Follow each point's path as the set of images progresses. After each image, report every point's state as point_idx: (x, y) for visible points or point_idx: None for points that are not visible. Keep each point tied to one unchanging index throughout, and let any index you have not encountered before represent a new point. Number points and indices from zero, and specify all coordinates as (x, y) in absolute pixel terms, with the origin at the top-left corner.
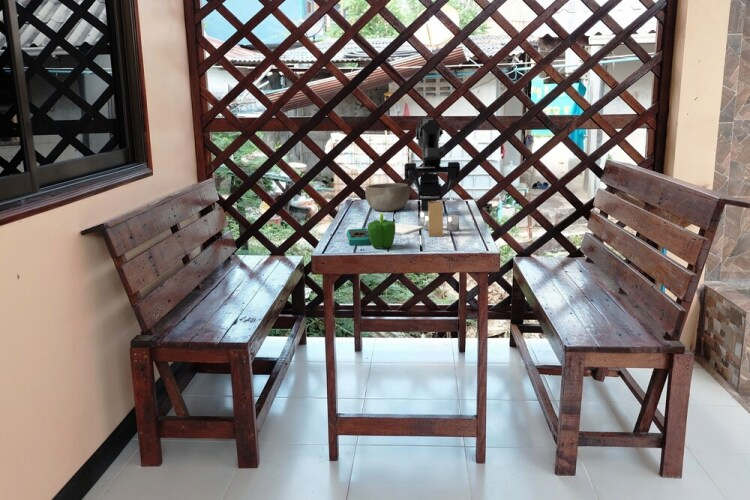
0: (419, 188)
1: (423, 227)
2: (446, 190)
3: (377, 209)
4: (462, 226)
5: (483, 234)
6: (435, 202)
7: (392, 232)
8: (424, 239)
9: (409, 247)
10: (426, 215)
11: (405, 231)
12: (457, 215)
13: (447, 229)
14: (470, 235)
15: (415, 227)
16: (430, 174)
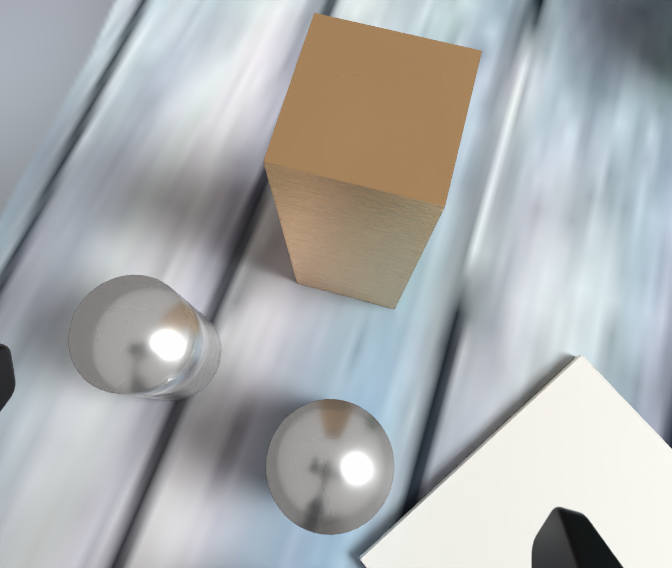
0: (575, 523)
1: (364, 553)
2: (14, 380)
3: None
4: (28, 484)
5: (43, 156)
6: (389, 59)
7: None
8: (470, 156)
9: (608, 2)
10: (369, 469)
11: (563, 405)
12: (79, 341)
13: (218, 354)
14: (137, 159)
15: (444, 541)
16: None
